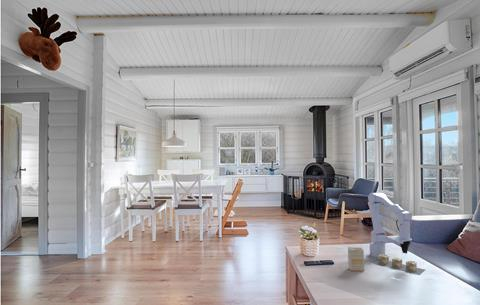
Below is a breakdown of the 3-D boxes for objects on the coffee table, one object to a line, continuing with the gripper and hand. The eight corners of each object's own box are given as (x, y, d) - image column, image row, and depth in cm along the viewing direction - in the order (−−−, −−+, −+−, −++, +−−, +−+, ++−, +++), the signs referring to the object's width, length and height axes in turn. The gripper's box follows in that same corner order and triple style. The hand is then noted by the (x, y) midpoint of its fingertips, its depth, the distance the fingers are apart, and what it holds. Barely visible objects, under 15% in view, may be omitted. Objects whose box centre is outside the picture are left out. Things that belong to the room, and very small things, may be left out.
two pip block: (378, 262, 186) (378, 255, 186) (381, 260, 189) (381, 253, 189) (386, 264, 182) (385, 257, 182) (388, 262, 185) (388, 255, 185)
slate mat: (370, 263, 186) (370, 262, 186) (378, 259, 194) (378, 258, 194) (419, 276, 165) (419, 275, 165) (425, 270, 173) (425, 269, 173)
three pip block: (405, 269, 174) (405, 261, 174) (408, 267, 177) (408, 259, 177) (414, 271, 170) (414, 263, 171) (416, 269, 174) (416, 261, 174)
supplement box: (361, 268, 178) (361, 247, 178) (364, 271, 173) (363, 249, 173) (348, 268, 178) (347, 247, 179) (350, 271, 174) (349, 249, 174)
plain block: (391, 265, 180) (391, 258, 180) (394, 264, 183) (394, 257, 183) (399, 267, 176) (399, 260, 177) (402, 266, 179) (402, 258, 180)
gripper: (407, 234, 170) (408, 257, 170) (415, 230, 180) (415, 251, 180) (394, 232, 175) (395, 254, 175) (403, 228, 185) (403, 249, 185)
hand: (404, 253), depth 178 cm, fingers closed
